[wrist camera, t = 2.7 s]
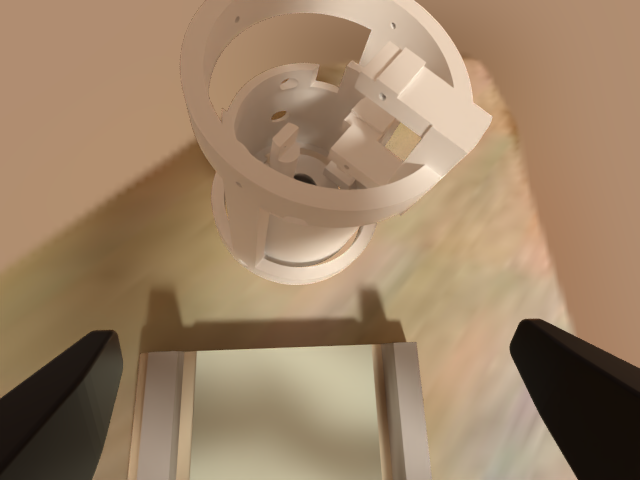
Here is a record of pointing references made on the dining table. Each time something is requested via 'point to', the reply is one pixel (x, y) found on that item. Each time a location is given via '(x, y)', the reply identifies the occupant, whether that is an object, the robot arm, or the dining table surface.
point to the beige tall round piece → (326, 133)
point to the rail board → (281, 414)
